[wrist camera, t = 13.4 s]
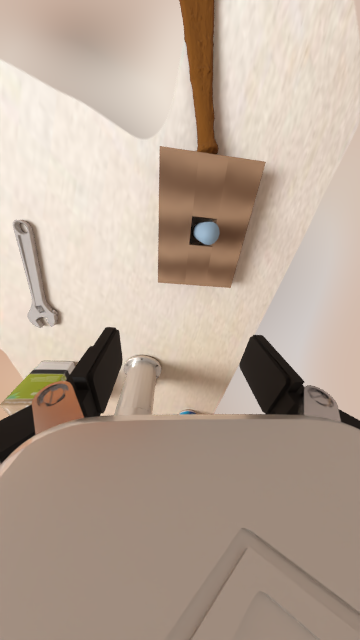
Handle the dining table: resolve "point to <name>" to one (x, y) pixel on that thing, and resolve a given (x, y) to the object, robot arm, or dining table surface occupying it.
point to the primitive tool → (201, 67)
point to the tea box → (36, 384)
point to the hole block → (203, 214)
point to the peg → (206, 232)
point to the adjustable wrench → (33, 276)
